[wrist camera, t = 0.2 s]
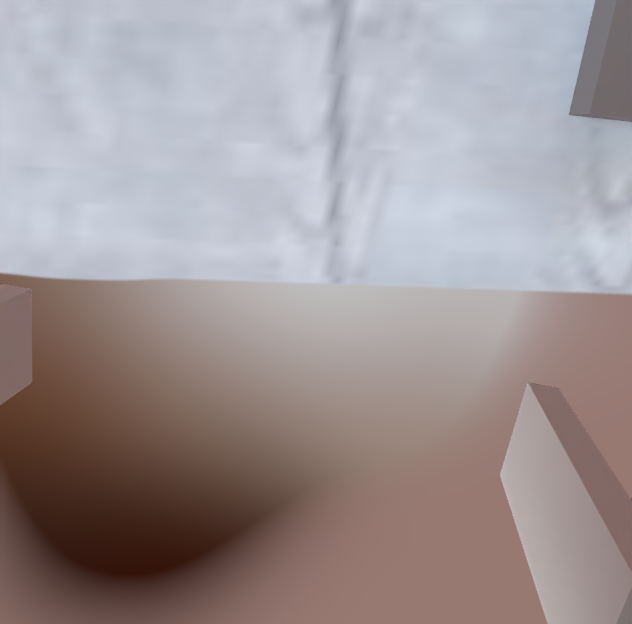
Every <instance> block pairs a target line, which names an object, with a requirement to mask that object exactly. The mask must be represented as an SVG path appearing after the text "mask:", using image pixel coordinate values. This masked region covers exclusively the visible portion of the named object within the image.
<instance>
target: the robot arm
mask: <svg viewBox="0 0 632 624" xmlns="http://www.w3.org/2000/svg"><path fill="white" fill-rule="evenodd" d="M31 316H32V314H31V289H27V288H22V287H16V286H11V285H5V284H3V285H1V286H0V405H1V404H2V403H4V402H5V401H7V400H8V399H9V398H11V397H12V396H14V395H15V394H16V393H18V392H19V391H21V390H22V389H23V388H25V387H26V386H28V385H29V384H30V383H32V318H31ZM500 477H501V480H502V483H503V486H504V489H505V492H506V495H507V499H508V502H509V505H510V508H511V511H512V514H513V517H514V520H515V523H516V527H517V530H518V533H519V536H520V539H521V542H522V545H523V549H524V551H525V555H526V558H527V561H528V564H529V567H530V570H531V573H532V577H533V580H534V583H535V586H536V589H537V592H538V595H539V598H540V602H541V605H542V608H543V611H544V614H545V617H546V620H547V623H548V624H632V499H631V498H630V497H629V495H628V494H627V492H626V491H625V489H624V488H623V486H622V484H621V483H620V481H619V480H618V478H617V477H616V475H615V474H614V472H613V471H612V469H611V468H610V466H609V465H608V463H607V462H606V460H605V458H604V457H603V455H602V454H601V452H600V451H599V449H598V448H597V446H596V445H595V443H594V442H593V440H592V438H591V437H590V435H589V434H588V432H587V431H586V429H585V428H584V426H583V425H582V423H581V422H580V420H579V419H578V417H577V415H576V414H575V412H574V411H573V409H572V408H571V406H570V405H569V403H568V402H567V400H566V399H565V397H564V396H563V394H562V392H561V391H560V389H559V388H556V387H550V386H545V385H540V384H535V383H529V382H528V383H527V386H526V390H525V393H524V396H523V400H522V403H521V406H520V410H519V413H518V417H517V420H516V423H515V427H514V430H513V433H512V437H511V440H510V443H509V447H508V450H507V453H506V457H505V460H504V463H503V467H502V470H501V473H500Z"/></svg>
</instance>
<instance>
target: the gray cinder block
mask: <svg viewBox="0 0 632 624" xmlns="http://www.w3.org/2000/svg"><path fill="white" fill-rule="evenodd" d="M569 115H575V116H584V117H593V118H603V119H612V120H621V121H631V122H632V0H596V1H595V5H594V9H593V14H592V18H591V22H590V27H589V31H588V35H587V40H586V44H585V48H584V53H583V57H582V61H581V66H580V70H579V74H578V79H577V83H576V87H575V91H574V96H573V100H572V104H571V109H570V113H569Z"/></svg>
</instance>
